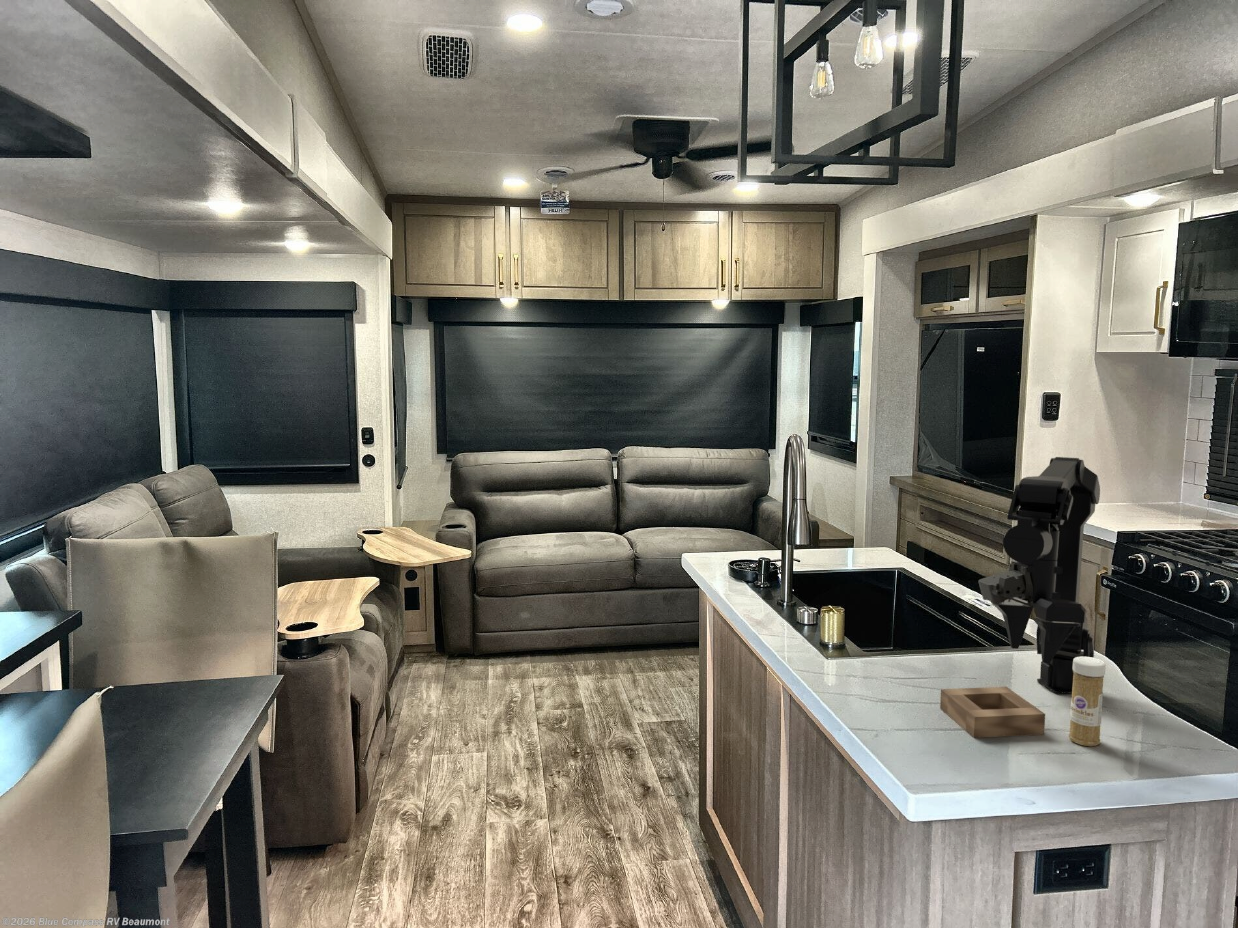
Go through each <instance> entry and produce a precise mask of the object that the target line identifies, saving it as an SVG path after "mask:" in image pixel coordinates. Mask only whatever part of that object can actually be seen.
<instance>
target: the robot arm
mask: <svg viewBox="0 0 1238 928" xmlns="http://www.w3.org/2000/svg"><path fill="white" fill-rule="evenodd" d="M1100 498H1101V485H1100V481H1099V476H1098V475H1097V474H1096V473H1095V472H1094V471H1092V470H1090V468H1088V467H1086V466H1085V462H1084V460H1083V459H1080V458H1079V457H1069V456H1068V457H1065V456H1054V457H1051V458H1050V461H1049V465H1047V466H1046V468H1045V469H1044V470H1043V471H1042V472H1041V473H1040V474H1039V475H1038V476H1026V477H1023V478H1021V479H1020V481H1019V483H1018V484H1015V486H1014V490H1013V494H1012V498H1011V502H1010V504H1009V505H1010V506H1009V509H1008V513H1007V517H1006V518H1007V519H1006V520H1007V521H1017V522H1016V523H1017V524H1016V525H1014V526H1012V527H1011V528H1009V529H1008V530H1007V531H1006V533H1005V535H1004V537H1002V538H1003V540H1002V544H1003V545H1002V547H1003V550H1004V552H1005V554H1006V556H1008V557H1009V558H1011V559H1012V561H1011V562H1010V563H1009V566H1008V570H1007V571H1005V572H1000V573H996V574H992V575H990V576H986V577H983V578H980V579H979V580H978V584H979V585H978V586H979V589H980V593H981V596H982V599H983V601H989V602H990V603H991V605H992V606H994V607H995V608H996V609H997V610H998V611H999V612H1000V613H1001V614H1002V618H1003V620H1004V624H1005V629H1006V632H1007V637H1008V640H1009V644H1010V645H1009V646H1010V648H1011V649H1015V650H1016V649H1019V647H1020V646H1021V643H1022V641H1023V637H1024V634H1025V633H1026V629H1027V626H1028V623H1029V620H1030V617H1031V615H1032V612H1034V616H1035V617H1032V620H1033V621H1034V622H1035V624H1036V625H1037V627H1036V636H1035V637H1036V653H1037V655H1041V662H1040V671H1039V672H1040V674H1039V675H1040V676H1039V678H1037V680H1036V681H1037V683H1039V684H1041V685H1042V686H1044V687H1045V688H1047V689H1048V690H1049V691H1051V692H1053V693H1054V694H1058V695H1059V694H1072V686H1073V675H1074V673H1073V669H1072V668H1073V659H1074V658H1076V657H1092V658H1095V648H1094V647H1095V645H1094V638H1093V637H1092V635H1091V630H1090V629H1088V617H1087V610H1086V608H1085V607H1084V606H1083V605H1082V604H1081V603H1080V589H1081V577H1082V576H1081V572H1082V558H1083V546H1084V531H1085V530H1084V528H1085V524H1086V523H1087V522H1088V521H1089V520H1090V518H1091V517H1092V516H1093V514H1095V511H1096V505H1098V504H1099V502H1100Z"/></svg>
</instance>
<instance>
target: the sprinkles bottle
mask: <svg viewBox="0 0 1238 928" xmlns="http://www.w3.org/2000/svg"><path fill="white" fill-rule="evenodd" d="M1072 669H1073V673H1074V675H1073V686H1072V693H1071V700H1070V714H1069V718H1070V723H1069V732H1068V733H1069V734H1068V738H1069V741H1072V742H1073V743H1076V744H1077V745H1081V746H1086V747H1095V746H1098V745H1100V744H1101V739H1100V738H1101V737H1100V736H1101V725H1102V715H1103V714H1102V712H1103V711H1102V709H1103V697H1104V693H1103V688H1104V678H1105V674H1106V663H1105V662H1104V661H1103V660H1102V659H1099V658H1096V657H1094V658H1092V657H1076V658H1074V659H1073V668H1072Z"/></svg>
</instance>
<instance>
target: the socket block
mask: <svg viewBox="0 0 1238 928" xmlns="http://www.w3.org/2000/svg"><path fill="white" fill-rule="evenodd" d="M939 701H940V705H939V709H940V710H941V711H942V712H944V713H945V714H946V715H947V716H948V717H950V719H952V720H953V721H954V722H955V723H956V724H957V725H959V726H960V727H961V728H962V729H963V730H964V731H965V732H967V734H969V735H970V736H971V737H973V738H997V737H998V738H999V737H1015V736H1016V737H1017V736H1018V737H1020V736H1037V735H1039V736H1041V735H1045V728H1046V727H1045V726H1046V713H1044V711H1042V710H1041V709H1039V708H1037V707H1036V706H1034V705H1033V704H1032V703H1030V702H1029V700H1026V699H1025V698H1024V697H1022V696H1020V695H1019V694H1018V693H1017V692H1015V691H1013V690H1012V689H1011V688H1009V687H1008V686H987V687H968V688H967V687H964V688H962V687H961V688H941V689H940V700H939Z"/></svg>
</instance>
